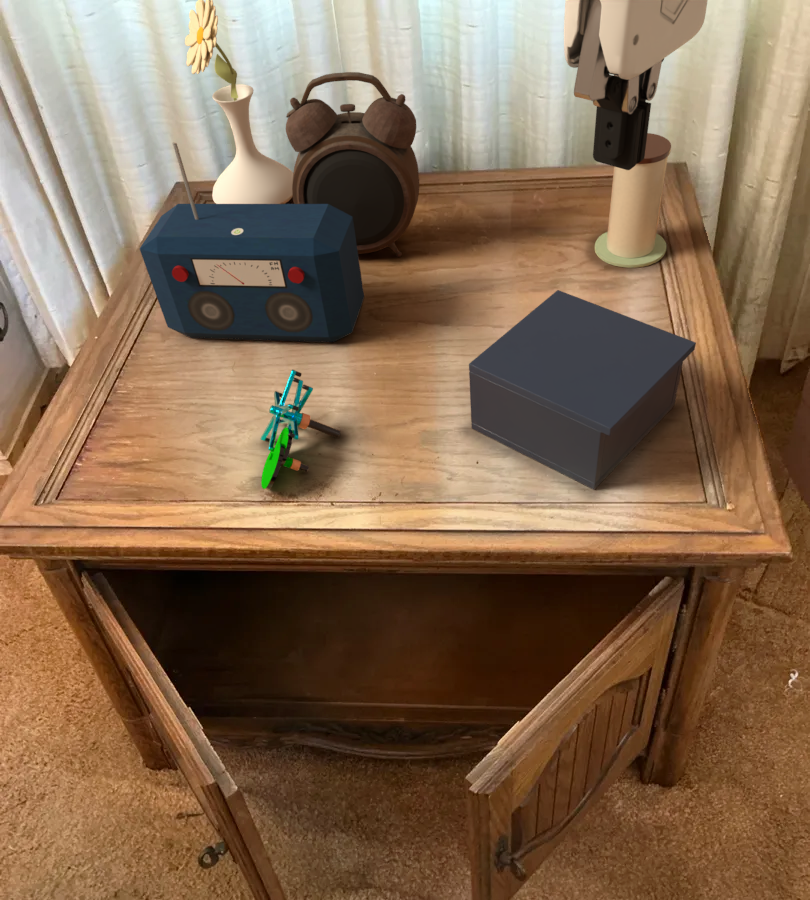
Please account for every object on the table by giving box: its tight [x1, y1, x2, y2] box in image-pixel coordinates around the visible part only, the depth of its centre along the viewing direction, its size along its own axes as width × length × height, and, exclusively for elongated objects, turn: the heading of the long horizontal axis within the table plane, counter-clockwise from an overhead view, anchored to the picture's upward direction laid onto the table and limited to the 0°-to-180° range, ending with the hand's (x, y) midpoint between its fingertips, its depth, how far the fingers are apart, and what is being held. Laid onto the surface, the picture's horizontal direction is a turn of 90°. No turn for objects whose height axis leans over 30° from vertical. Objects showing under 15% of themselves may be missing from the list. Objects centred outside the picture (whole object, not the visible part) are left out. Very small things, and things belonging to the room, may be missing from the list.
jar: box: [606, 132, 672, 258], centre depth 93 cm, size 6×6×12 cm
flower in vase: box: [184, 0, 294, 204], centre depth 103 cm, size 13×11×25 cm
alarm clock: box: [285, 71, 420, 258], centre depth 95 cm, size 15×7×20 cm, turn 86°
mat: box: [594, 231, 667, 269], centre depth 97 cm, size 8×8×1 cm
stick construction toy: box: [260, 369, 341, 491], centre depth 79 cm, size 12×7×8 cm
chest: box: [468, 361, 684, 490], centre depth 77 cm, size 14×14×7 cm
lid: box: [468, 289, 697, 436], centre depth 74 cm, size 14×14×1 cm
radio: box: [139, 142, 365, 343], centre depth 87 cm, size 21×9×20 cm, turn 80°
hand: (618, 160), depth 60 cm, fingers closed
